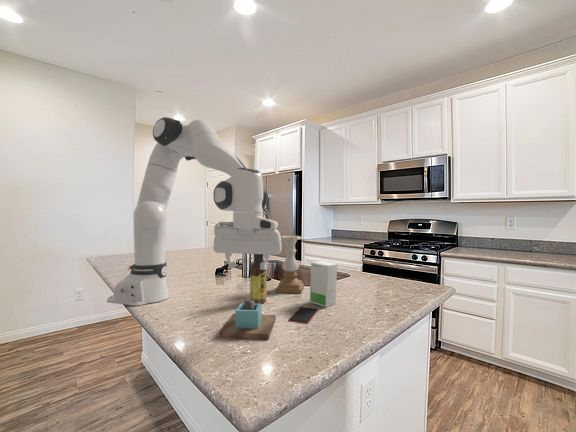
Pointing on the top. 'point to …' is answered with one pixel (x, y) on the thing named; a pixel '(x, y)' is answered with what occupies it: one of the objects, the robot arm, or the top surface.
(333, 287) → the skincare box
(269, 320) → the post stand
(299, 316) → the smartphone
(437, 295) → the top surface
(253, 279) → the sauce bottle
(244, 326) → the teal collar
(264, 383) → the top surface
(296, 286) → the candle holder
